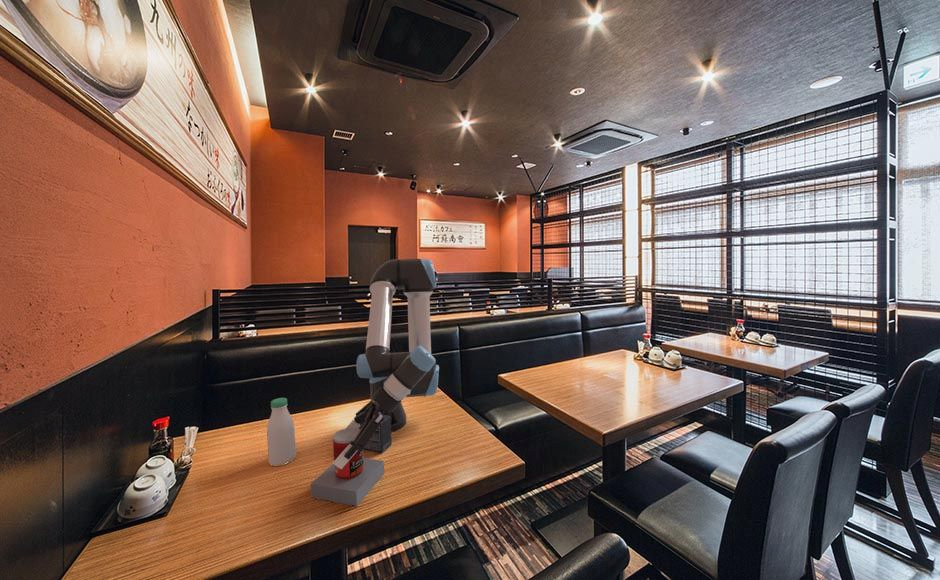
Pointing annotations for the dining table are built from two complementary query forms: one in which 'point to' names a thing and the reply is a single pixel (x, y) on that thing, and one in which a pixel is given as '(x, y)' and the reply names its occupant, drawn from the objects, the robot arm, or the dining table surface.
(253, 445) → the dining table surface
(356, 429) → the canned food
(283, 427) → the milk bottle
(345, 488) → the slate stand
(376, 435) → the small box
